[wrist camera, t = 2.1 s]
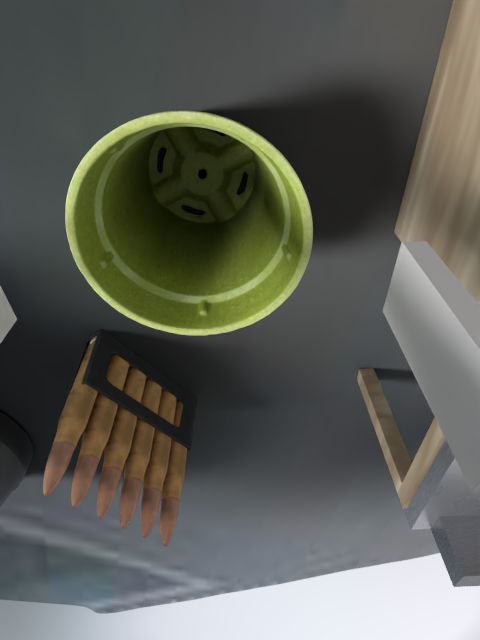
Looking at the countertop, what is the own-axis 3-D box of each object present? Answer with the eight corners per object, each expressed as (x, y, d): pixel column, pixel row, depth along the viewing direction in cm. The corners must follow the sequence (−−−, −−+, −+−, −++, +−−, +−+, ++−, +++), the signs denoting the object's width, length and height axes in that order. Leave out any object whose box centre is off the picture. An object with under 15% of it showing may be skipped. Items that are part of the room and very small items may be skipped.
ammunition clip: (197, 399, 34) (186, 546, 25) (181, 408, 35) (165, 554, 25) (101, 328, 28) (40, 482, 19) (85, 340, 29) (19, 494, 20)
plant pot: (258, 261, 25) (269, 352, 18) (111, 228, 23) (65, 315, 17) (311, 106, 20) (355, 157, 13) (123, 48, 18) (61, 70, 11)
